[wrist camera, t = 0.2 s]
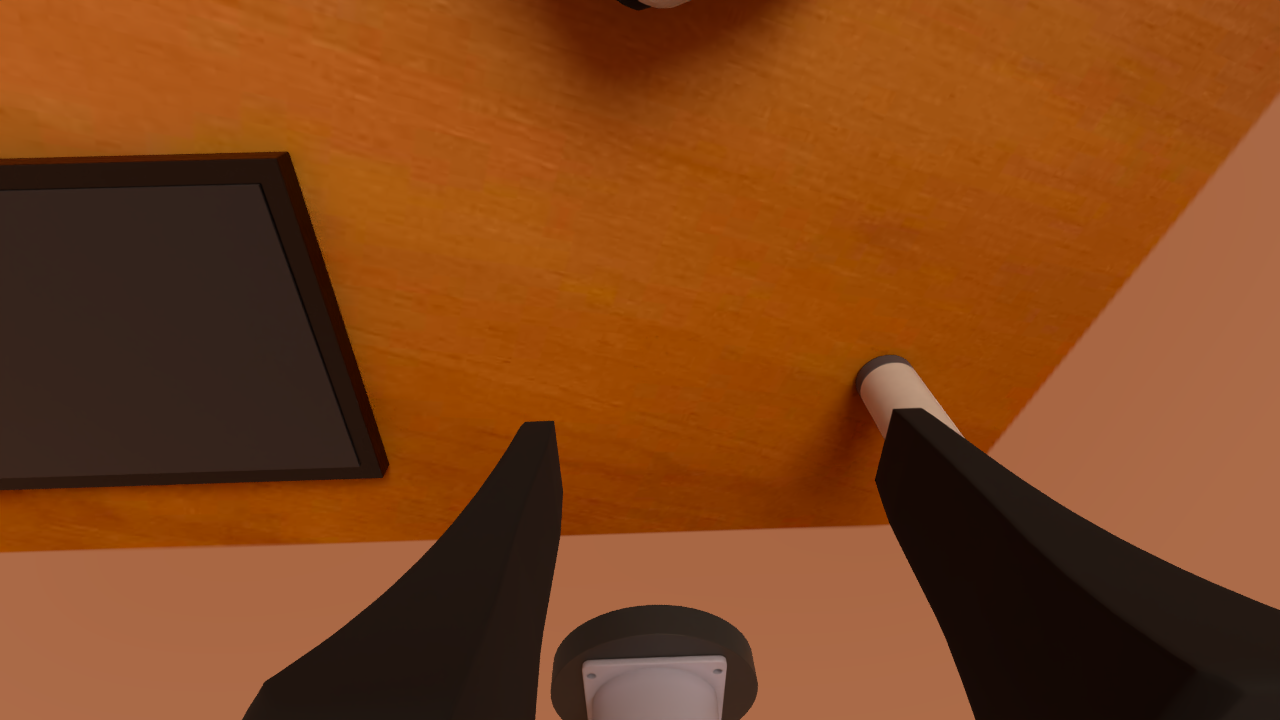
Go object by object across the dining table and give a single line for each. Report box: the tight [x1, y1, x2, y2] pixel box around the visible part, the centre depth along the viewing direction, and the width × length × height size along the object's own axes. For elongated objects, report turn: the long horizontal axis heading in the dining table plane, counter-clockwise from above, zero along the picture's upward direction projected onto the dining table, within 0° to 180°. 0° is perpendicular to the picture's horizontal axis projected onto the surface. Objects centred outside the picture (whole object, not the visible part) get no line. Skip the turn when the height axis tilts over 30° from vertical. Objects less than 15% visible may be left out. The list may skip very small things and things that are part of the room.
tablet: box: [0, 152, 389, 490], centre depth 24 cm, size 14×20×1 cm
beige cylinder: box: [856, 355, 964, 439], centre depth 23 cm, size 2×2×7 cm
